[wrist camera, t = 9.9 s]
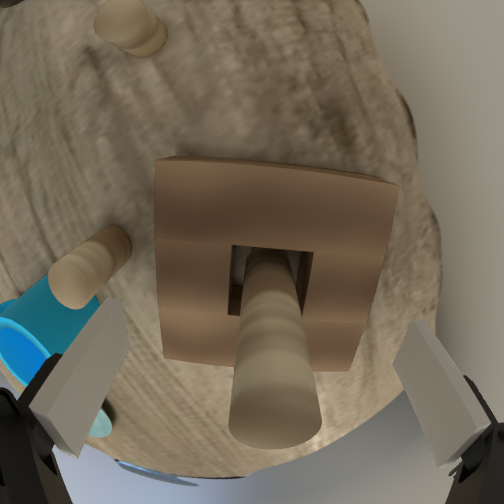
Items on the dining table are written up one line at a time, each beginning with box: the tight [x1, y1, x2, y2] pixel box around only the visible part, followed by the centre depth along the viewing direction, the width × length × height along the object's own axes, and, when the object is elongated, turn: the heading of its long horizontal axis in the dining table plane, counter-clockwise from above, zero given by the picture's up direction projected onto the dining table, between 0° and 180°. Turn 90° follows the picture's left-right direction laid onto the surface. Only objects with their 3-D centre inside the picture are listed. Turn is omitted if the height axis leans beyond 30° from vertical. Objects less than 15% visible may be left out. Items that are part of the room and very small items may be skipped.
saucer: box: [88, 406, 112, 437], centre depth 29 cm, size 12×12×2 cm
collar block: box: [155, 156, 399, 371], centre depth 20 cm, size 14×14×4 cm
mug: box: [0, 275, 100, 387], centre depth 20 cm, size 12×8×8 cm
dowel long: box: [229, 247, 322, 449], centre depth 15 cm, size 3×3×14 cm
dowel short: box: [94, 0, 167, 58], centre depth 14 cm, size 3×3×5 cm
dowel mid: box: [48, 226, 132, 309], centre depth 18 cm, size 3×3×7 cm
